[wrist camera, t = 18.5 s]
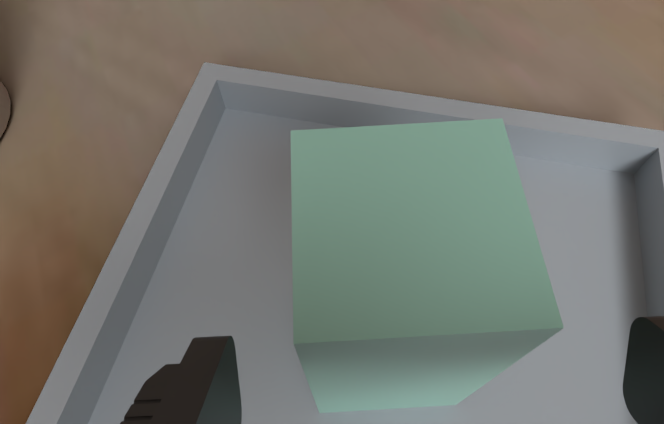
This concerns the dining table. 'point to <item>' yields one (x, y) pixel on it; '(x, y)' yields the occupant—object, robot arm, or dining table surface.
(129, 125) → the dining table surface
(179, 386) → the robot arm
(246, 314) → the tray
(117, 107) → the dining table surface
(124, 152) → the dining table surface
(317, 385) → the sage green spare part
